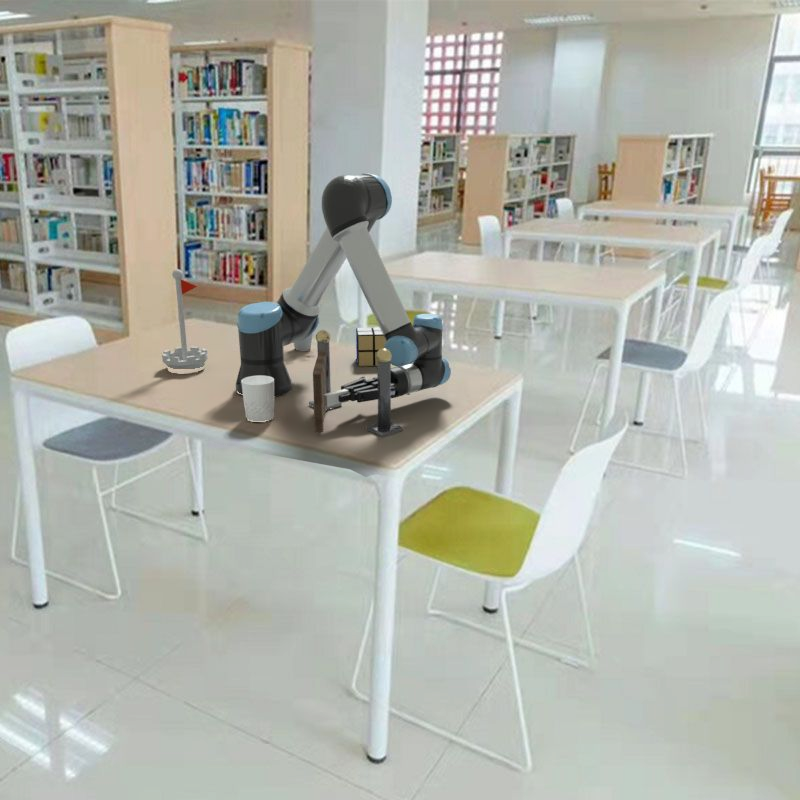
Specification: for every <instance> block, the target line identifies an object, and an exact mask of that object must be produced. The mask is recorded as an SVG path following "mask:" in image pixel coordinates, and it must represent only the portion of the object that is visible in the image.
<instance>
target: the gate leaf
mask: <svg viewBox="0 0 800 800" xmlns="http://www.w3.org/2000/svg"><path fill="white" fill-rule="evenodd" d="M326 354H327V350H319V353H318V352H317V356H316V360H315V363H314V367H313V370H312V384H313V385H312V386H313V401H314V407H313V413H314V414H313V415H314V418H313V419H314V433H324V419H325V415H326V411H327V410H326V406H324V404H323V394H327V387H326ZM325 410H326V411H325Z"/></svg>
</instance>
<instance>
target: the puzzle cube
mask: <svg viewBox="0 0 800 800" xmlns="http://www.w3.org/2000/svg"><path fill="white" fill-rule="evenodd" d="M355 341H356V343H355V344H356V345H355V347H356V362H357V363H356V364H357V367H359V368H360V367H361V368H363V367H374V366H375V367H378V362H377V358H376V354H377V352H378V351H379V350H380V349H382V348H384V345H385V343H386V340H385V337H384V335H383V333H382V331H381V329H380V327H379V326H378V327H374V326H373V327H356V329H355Z"/></svg>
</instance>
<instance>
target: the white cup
mask: <svg viewBox="0 0 800 800" xmlns="http://www.w3.org/2000/svg"><path fill="white" fill-rule="evenodd" d="M241 384H242V392H243V396H242V400H243V406H244V411H245V419H246V418H247V419H249V420H253V421H265V420H270V419H272V418H273V417H275V414H274V413H275V412H274V411H275V409H274V408H275V397H274V378H273V377H270V376H263V375H258V376H250V377H246V378H244V379H242V380H241ZM273 419H274V418H273ZM273 419H272V420H273Z"/></svg>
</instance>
